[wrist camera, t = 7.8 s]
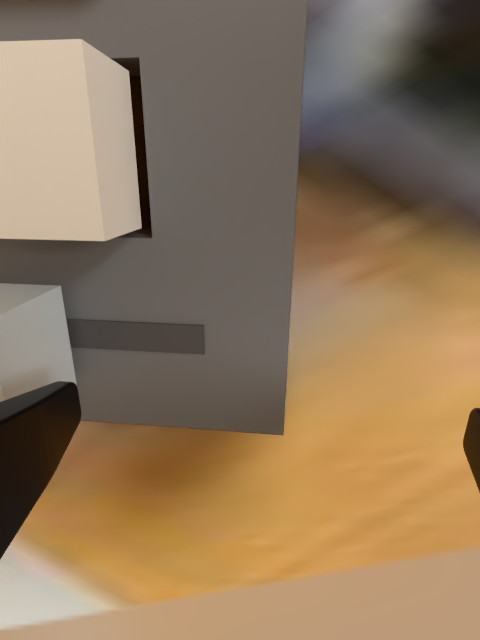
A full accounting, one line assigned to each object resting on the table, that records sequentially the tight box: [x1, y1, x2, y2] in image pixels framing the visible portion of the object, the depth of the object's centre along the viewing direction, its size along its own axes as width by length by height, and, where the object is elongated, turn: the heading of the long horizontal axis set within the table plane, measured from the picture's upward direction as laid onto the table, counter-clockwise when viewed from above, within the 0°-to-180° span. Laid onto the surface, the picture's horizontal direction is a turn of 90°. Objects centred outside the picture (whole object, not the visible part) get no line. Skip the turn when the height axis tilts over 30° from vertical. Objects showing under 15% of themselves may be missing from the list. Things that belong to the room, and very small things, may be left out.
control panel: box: [0, 0, 308, 435], centre depth 10 cm, size 13×24×3 cm, turn 179°
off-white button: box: [0, 39, 142, 241], centre depth 10 cm, size 4×4×2 cm
